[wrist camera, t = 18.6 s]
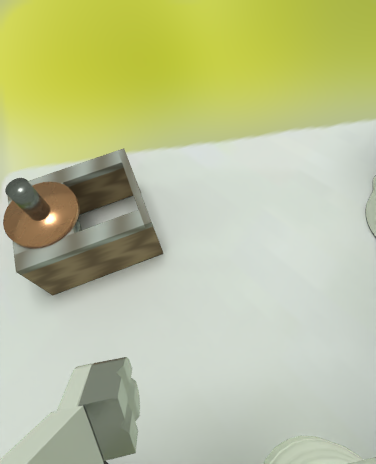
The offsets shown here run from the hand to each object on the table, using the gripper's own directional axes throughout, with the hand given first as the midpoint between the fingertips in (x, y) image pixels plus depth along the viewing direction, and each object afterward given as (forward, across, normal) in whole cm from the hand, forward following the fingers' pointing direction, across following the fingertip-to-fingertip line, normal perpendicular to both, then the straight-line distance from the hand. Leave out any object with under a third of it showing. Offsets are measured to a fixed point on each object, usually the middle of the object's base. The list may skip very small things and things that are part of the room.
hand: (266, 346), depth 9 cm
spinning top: (+39, +20, +4) cm, 44 cm away
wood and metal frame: (+43, +16, +7) cm, 47 cm away
